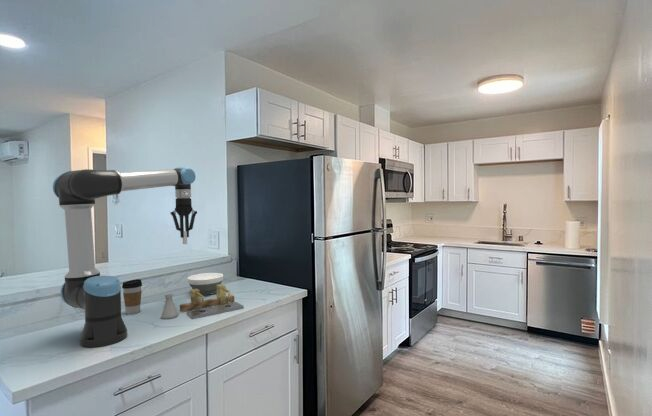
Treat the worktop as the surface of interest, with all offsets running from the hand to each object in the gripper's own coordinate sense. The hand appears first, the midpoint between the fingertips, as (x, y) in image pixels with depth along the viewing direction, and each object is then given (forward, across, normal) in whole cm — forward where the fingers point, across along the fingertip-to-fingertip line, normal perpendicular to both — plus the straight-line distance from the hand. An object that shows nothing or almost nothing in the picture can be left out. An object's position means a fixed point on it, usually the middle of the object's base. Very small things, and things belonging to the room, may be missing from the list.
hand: (185, 243), depth 182 cm
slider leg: (+30, +14, -17) cm, 37 cm away
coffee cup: (+31, -24, 0) cm, 39 cm away
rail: (+30, +7, -18) cm, 36 cm away
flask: (+31, -12, -18) cm, 38 cm away
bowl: (+31, +14, +15) cm, 37 cm away
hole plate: (+30, +7, -24) cm, 39 cm away
